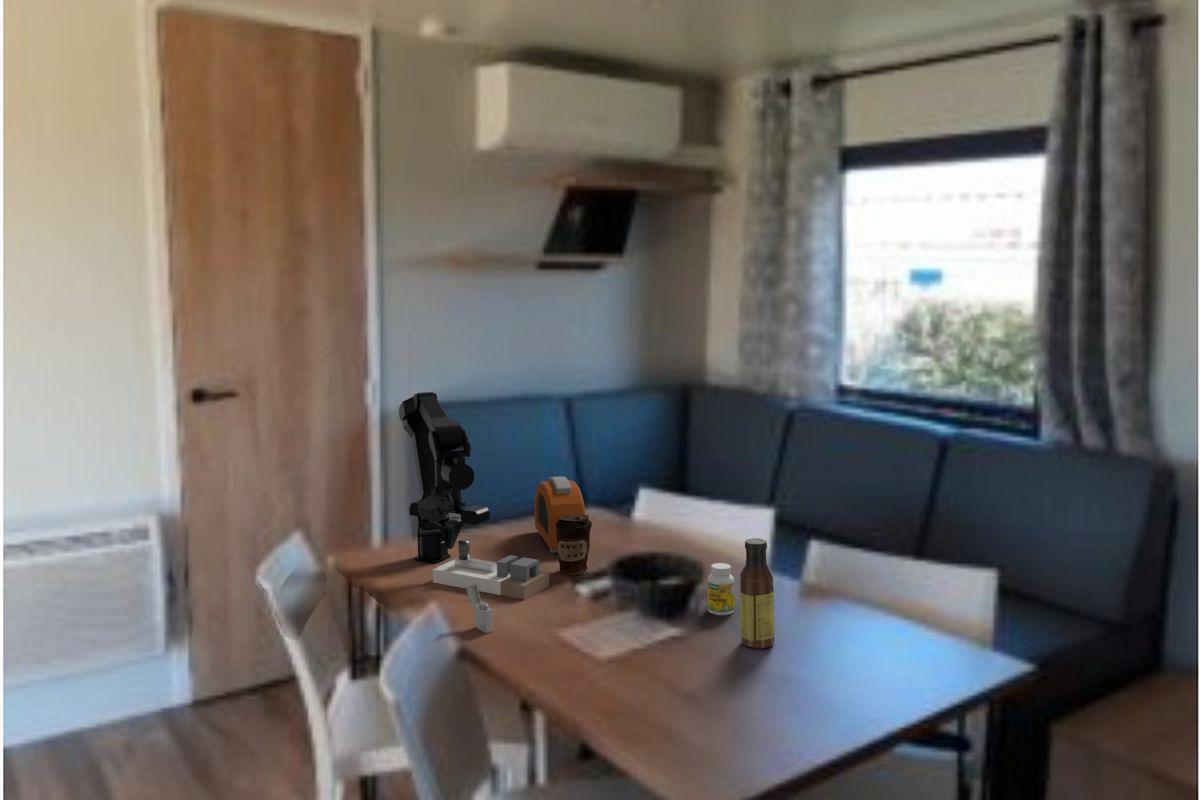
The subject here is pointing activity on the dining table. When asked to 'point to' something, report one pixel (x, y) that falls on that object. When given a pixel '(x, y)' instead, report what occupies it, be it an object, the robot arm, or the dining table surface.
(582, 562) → the coffee cup
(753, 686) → the dining table surface
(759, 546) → the sauce bottle
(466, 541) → the bolt
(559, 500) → the orange tape measure
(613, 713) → the dining table surface
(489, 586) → the door lock board
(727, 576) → the supplement bottle
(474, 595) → the lighter
